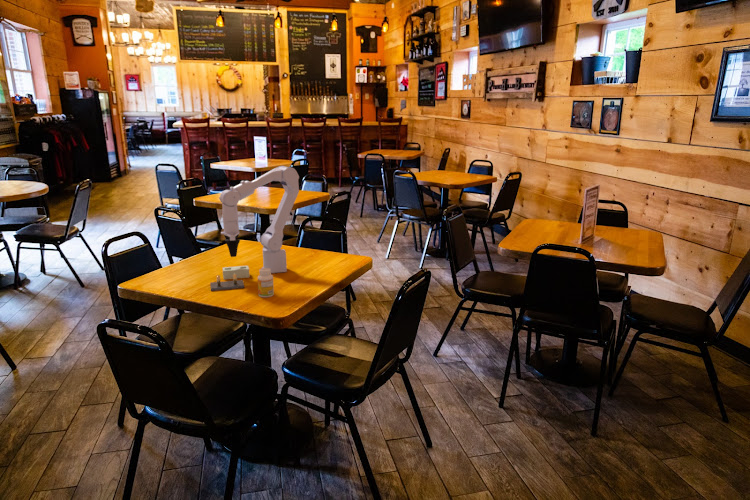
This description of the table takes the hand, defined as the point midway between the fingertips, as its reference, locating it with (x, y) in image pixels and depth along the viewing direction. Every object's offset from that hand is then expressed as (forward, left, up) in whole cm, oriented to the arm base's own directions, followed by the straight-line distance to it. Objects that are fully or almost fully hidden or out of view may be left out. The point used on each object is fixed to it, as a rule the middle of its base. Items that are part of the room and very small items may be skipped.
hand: (233, 254), depth 201 cm
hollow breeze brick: (-1, 0, -9) cm, 9 cm away
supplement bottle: (-10, +26, -10) cm, 30 cm away
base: (+3, +12, -9) cm, 16 cm away
